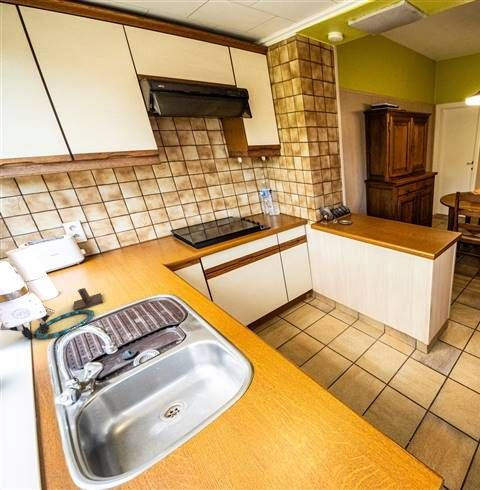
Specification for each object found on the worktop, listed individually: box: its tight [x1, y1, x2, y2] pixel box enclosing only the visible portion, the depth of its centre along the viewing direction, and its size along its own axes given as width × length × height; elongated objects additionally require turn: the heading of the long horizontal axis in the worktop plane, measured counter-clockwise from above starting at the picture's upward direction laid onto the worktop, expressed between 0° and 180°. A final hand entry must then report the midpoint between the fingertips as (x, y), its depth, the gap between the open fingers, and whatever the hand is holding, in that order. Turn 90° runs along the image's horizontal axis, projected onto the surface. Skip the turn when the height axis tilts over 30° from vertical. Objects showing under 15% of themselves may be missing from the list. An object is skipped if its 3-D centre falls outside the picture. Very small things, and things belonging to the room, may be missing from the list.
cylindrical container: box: [5, 246, 59, 302], centre depth 123 cm, size 7×7×25 cm
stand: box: [73, 287, 104, 311], centre depth 119 cm, size 9×9×8 cm
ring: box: [33, 308, 95, 340], centre depth 107 cm, size 17×17×2 cm
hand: (38, 334), depth 102 cm, fingers open, 3 cm apart
